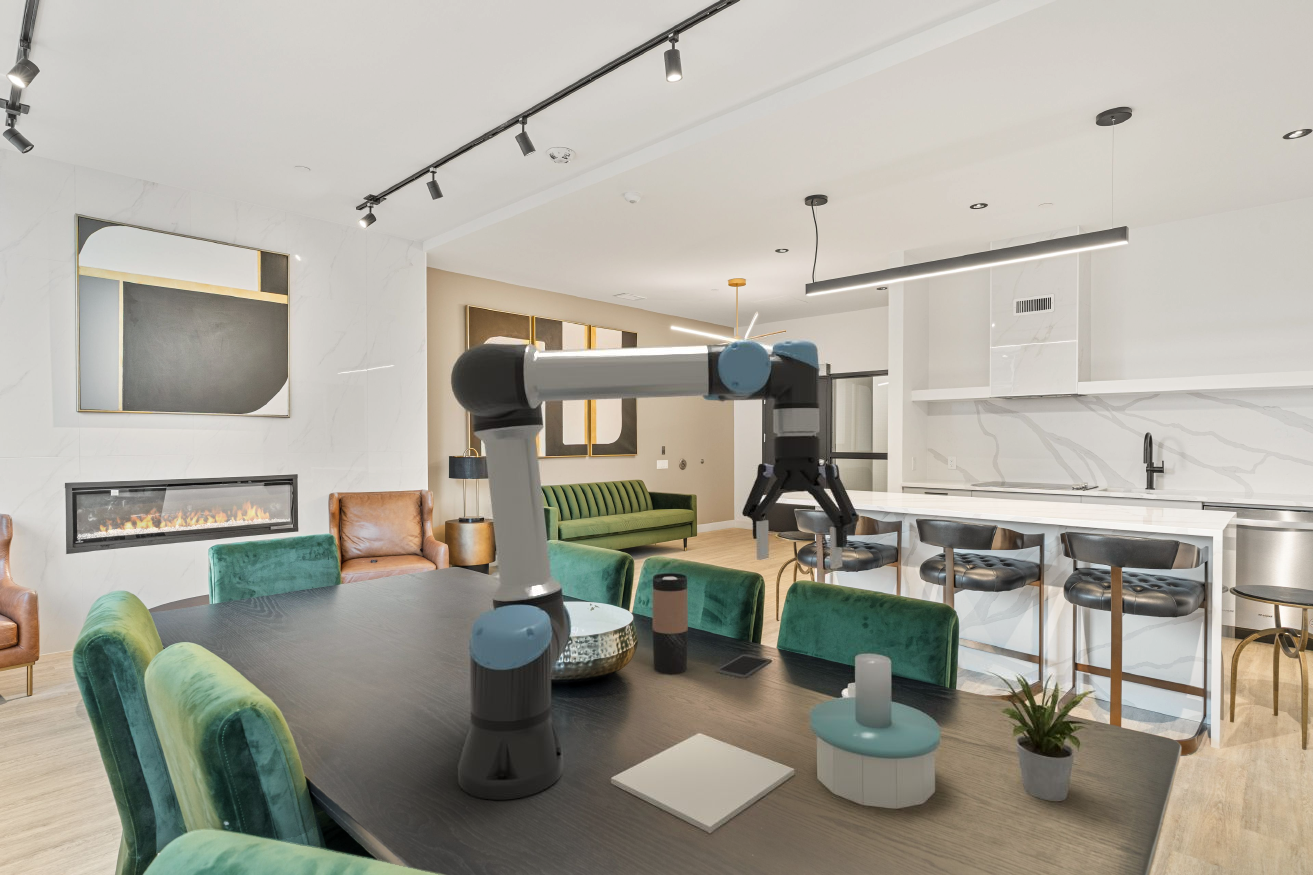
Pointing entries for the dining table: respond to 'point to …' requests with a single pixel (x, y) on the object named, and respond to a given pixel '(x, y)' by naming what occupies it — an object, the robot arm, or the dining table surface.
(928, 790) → the bowl
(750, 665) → the cell phone
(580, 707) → the dining table surface
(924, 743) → the lid
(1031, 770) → the house plant
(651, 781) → the mat
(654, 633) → the travel mug
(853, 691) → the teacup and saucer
